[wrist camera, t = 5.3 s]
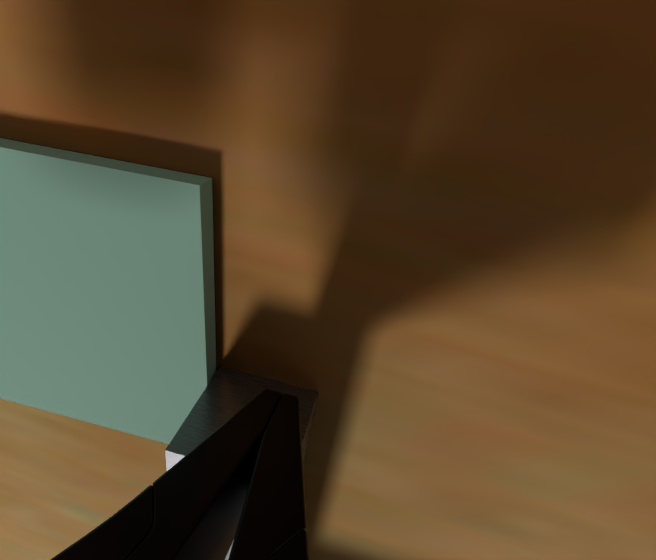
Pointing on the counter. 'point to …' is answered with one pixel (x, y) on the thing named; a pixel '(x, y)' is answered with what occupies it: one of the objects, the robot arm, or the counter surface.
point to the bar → (232, 410)
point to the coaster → (105, 288)
